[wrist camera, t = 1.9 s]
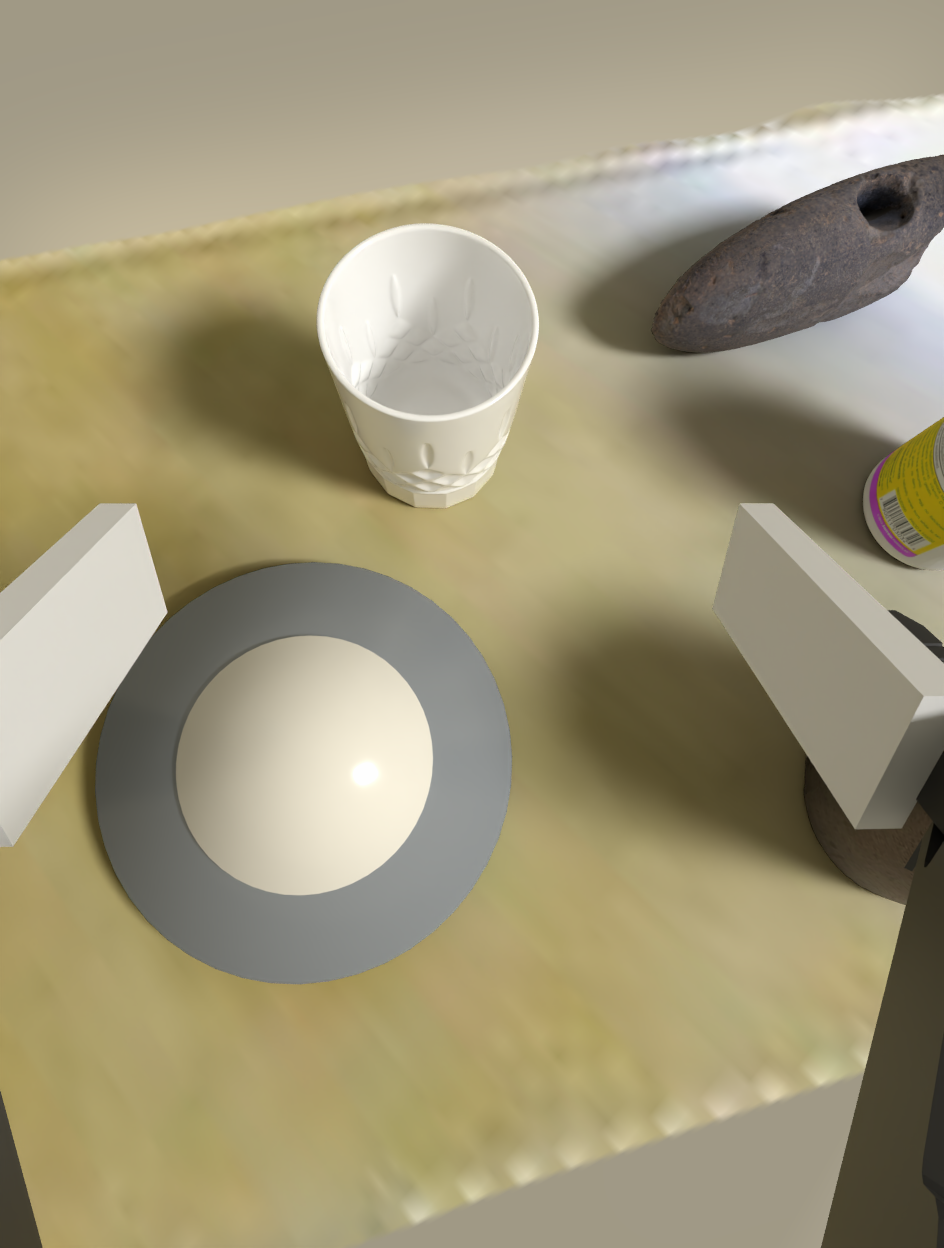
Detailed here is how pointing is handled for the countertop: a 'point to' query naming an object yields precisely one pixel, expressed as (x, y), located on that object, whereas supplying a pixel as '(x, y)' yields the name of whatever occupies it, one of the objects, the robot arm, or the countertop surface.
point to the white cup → (428, 356)
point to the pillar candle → (864, 842)
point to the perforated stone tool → (808, 260)
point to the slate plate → (303, 773)
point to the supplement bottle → (910, 500)
